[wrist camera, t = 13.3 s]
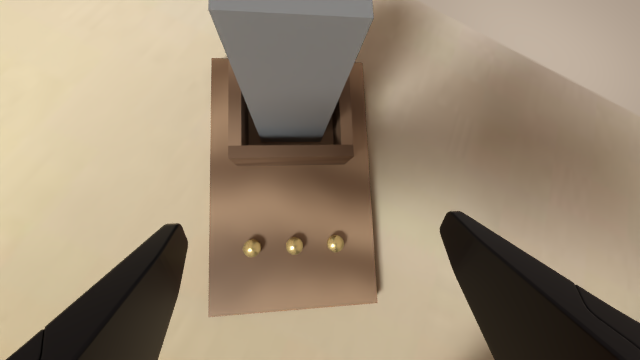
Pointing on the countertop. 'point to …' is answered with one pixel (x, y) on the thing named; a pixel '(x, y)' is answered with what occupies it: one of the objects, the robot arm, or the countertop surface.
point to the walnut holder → (288, 208)
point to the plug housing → (291, 59)
